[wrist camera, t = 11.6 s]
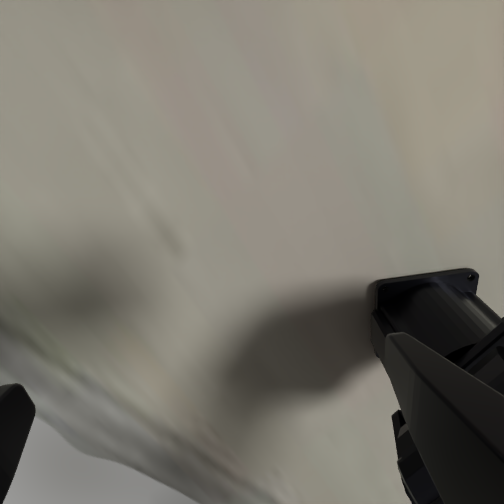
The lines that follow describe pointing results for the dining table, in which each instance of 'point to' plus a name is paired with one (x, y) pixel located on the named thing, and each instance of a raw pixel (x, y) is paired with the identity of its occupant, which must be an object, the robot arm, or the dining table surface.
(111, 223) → the dining table surface
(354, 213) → the dining table surface
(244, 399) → the dining table surface
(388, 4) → the dining table surface
